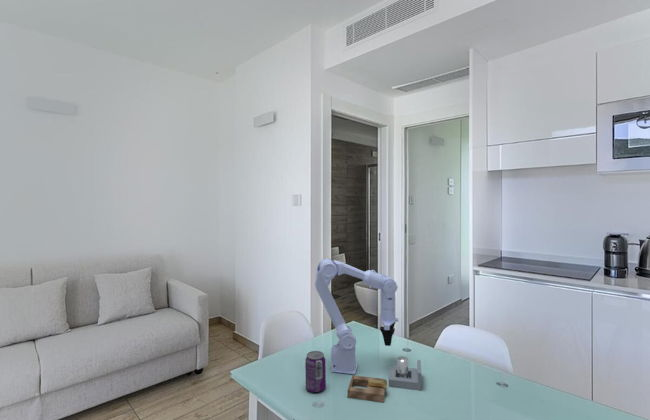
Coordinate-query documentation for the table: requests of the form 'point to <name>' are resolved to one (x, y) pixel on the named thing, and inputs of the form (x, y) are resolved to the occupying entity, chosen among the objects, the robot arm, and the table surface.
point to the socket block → (365, 394)
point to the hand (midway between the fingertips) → (388, 341)
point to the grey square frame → (405, 382)
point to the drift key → (377, 383)
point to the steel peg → (402, 367)
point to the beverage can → (315, 371)
